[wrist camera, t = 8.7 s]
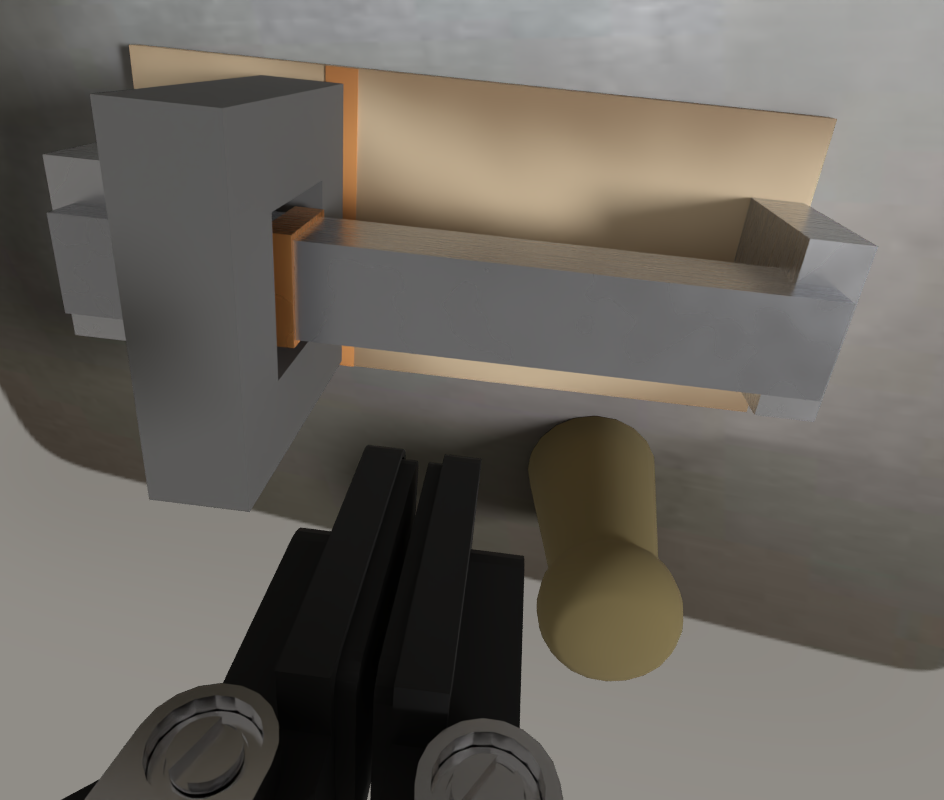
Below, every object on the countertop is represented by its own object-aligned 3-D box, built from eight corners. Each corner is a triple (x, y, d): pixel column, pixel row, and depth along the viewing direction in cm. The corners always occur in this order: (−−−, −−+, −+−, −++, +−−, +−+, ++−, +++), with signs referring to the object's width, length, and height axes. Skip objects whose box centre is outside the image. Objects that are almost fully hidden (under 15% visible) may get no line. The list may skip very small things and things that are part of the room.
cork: (525, 519, 35) (521, 702, 25) (529, 413, 32) (527, 572, 23) (647, 525, 35) (691, 713, 25) (662, 418, 32) (718, 583, 22)
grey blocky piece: (145, 131, 27) (7, 162, 20) (804, 203, 26) (902, 261, 19) (162, 279, 30) (46, 352, 23) (759, 348, 29) (832, 446, 22)
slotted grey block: (261, 75, 25) (89, 93, 15) (343, 83, 25) (221, 107, 15) (273, 352, 30) (149, 499, 21) (341, 360, 30) (249, 512, 20)
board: (139, 44, 27) (127, 44, 26) (828, 117, 26) (838, 119, 25) (172, 336, 32) (163, 344, 31) (741, 403, 31) (746, 412, 30)
